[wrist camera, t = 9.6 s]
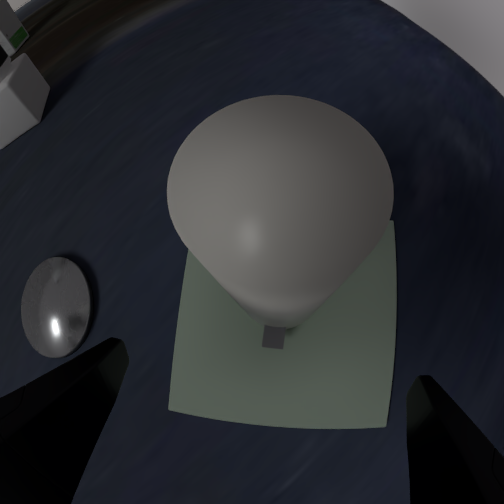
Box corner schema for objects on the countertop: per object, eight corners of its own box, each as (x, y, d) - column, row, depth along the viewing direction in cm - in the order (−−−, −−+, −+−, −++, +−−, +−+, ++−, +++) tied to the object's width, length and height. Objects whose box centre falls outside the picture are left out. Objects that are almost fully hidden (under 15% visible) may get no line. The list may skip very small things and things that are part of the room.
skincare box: (16, 53, 36) (-14, 10, 21) (-2, 66, 36) (-31, 26, 21) (30, 34, 39) (5, -6, 24) (12, 47, 39) (-13, 9, 24)
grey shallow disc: (103, 346, 16) (98, 346, 15) (34, 365, 16) (29, 364, 15) (86, 245, 18) (81, 242, 18) (23, 276, 18) (18, 274, 17)
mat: (384, 425, 13) (385, 426, 13) (170, 408, 15) (168, 409, 14) (391, 222, 17) (393, 220, 16) (197, 209, 18) (196, 207, 18)
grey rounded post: (315, 352, 15) (392, 360, 4) (231, 342, 15) (132, 327, 5) (325, 236, 16) (376, 81, 6) (248, 229, 17) (206, 70, 7)
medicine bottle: (51, 87, 26) (7, 24, 15) (41, 122, 24) (-17, 53, 12) (13, 113, 26) (-33, 60, 15) (1, 151, 24) (-57, 95, 12)
